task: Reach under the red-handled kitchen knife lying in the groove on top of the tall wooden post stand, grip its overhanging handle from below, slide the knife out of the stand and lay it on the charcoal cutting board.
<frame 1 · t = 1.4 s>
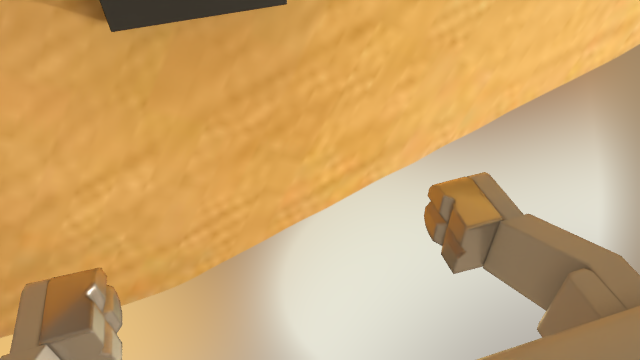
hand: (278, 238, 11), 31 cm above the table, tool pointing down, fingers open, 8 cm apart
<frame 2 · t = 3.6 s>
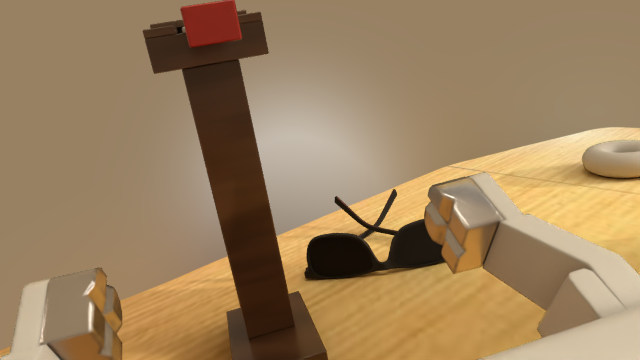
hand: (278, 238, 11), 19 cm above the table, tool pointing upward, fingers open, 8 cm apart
sunglasses: (378, 247, 54), on the table
knife: (205, 29, 27), point 25 cm above the table, touching wooden post stand
donut: (623, 171, 64), on the table
wooden post stand: (274, 344, 39), on the table
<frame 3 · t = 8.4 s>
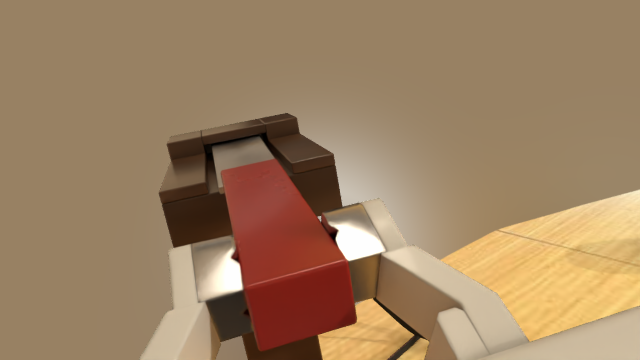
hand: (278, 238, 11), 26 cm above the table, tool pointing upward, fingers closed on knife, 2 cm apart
knife: (252, 183, 18), point 25 cm above the table, touching gripper, wooden post stand
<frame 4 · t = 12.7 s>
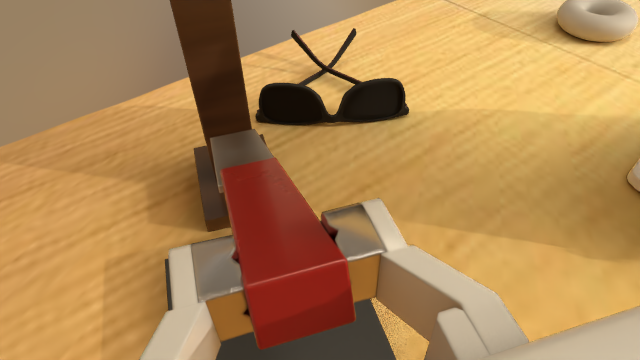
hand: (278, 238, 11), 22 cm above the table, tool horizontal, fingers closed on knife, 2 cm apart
sunglasses: (330, 91, 55), on the table
knife: (251, 182, 18), point 18 cm above the table, tilted 26°, touching gripper
donut: (591, 30, 65), on the table
wooden post stand: (239, 184, 44), on the table
when the fingers open (9 cm above the table, at t = 16.4 s): knife drops 3 cm, resting on cutting board.
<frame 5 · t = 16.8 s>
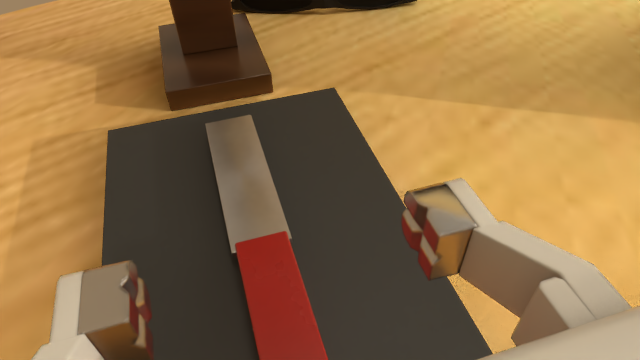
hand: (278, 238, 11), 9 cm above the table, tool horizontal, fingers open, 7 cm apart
knife: (261, 242, 20), point 2 cm above the table, touching cutting board
cutting board: (271, 279, 21), on the table
wooden post stand: (213, 65, 35), on the table
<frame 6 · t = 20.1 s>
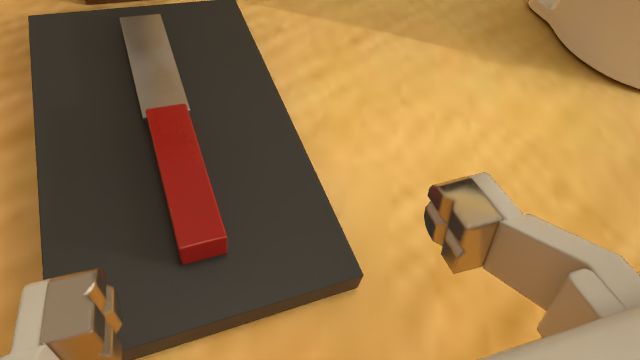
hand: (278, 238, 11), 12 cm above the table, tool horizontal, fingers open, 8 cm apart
knife: (166, 112, 26), point 2 cm above the table, touching cutting board
cutting board: (174, 143, 28), on the table
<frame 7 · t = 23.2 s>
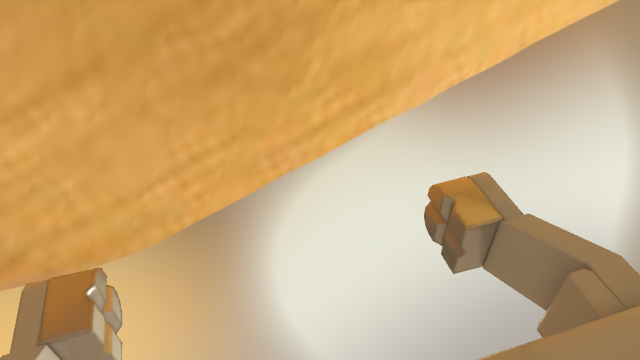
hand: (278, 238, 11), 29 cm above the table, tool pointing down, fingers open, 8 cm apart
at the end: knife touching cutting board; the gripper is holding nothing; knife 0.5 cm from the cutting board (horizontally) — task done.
